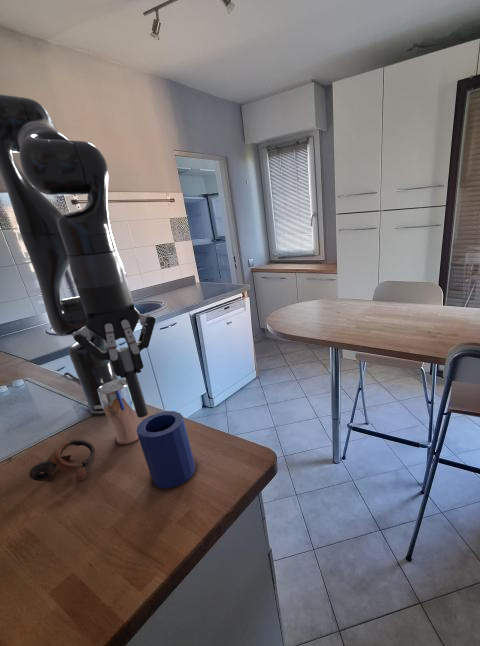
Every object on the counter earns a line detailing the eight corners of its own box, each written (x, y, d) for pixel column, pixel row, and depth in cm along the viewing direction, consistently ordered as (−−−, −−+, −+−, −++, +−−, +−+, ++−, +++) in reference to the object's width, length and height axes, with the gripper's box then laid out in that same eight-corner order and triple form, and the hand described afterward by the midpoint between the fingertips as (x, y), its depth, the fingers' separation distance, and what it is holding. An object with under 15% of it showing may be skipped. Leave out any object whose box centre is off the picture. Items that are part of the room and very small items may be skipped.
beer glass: (123, 449, 81) (104, 396, 75) (109, 439, 85) (91, 388, 79) (149, 434, 86) (134, 383, 80) (135, 425, 90) (120, 376, 84)
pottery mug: (80, 454, 81) (87, 430, 78) (100, 482, 78) (107, 459, 74) (19, 476, 71) (24, 449, 68) (39, 509, 67) (44, 483, 64)
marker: (135, 414, 66) (114, 349, 60) (147, 410, 67) (127, 346, 61) (138, 419, 64) (117, 352, 58) (150, 414, 65) (130, 349, 60)
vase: (147, 472, 73) (131, 423, 68) (186, 453, 78) (174, 406, 73) (160, 495, 67) (144, 443, 61) (201, 473, 72) (189, 423, 66)
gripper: (139, 271, 62) (161, 356, 68) (50, 286, 54) (85, 380, 61) (151, 276, 56) (174, 368, 63) (54, 292, 48) (91, 395, 55)
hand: (130, 373), depth 62 cm, fingers closed on marker, 2 cm apart
